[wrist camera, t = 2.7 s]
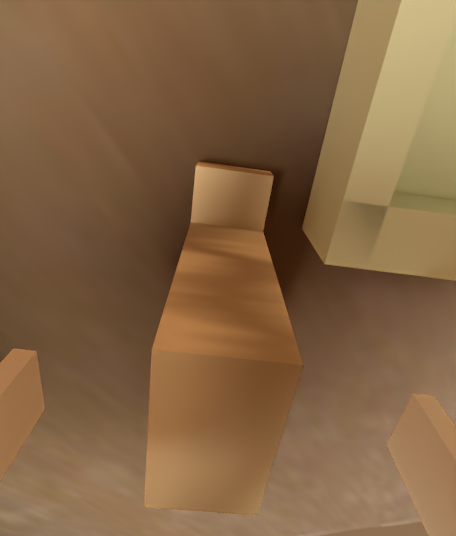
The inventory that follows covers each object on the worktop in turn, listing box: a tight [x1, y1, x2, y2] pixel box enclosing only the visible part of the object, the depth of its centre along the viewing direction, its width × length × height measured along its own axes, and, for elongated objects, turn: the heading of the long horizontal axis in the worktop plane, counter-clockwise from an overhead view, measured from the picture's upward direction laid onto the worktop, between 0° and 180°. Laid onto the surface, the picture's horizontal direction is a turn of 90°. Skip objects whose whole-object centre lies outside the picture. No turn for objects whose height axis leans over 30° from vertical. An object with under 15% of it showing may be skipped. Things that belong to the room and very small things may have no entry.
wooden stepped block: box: [144, 161, 303, 515], centre depth 15 cm, size 4×10×12 cm, turn 172°
